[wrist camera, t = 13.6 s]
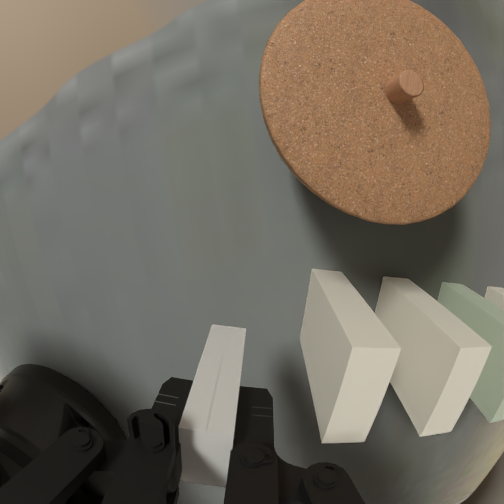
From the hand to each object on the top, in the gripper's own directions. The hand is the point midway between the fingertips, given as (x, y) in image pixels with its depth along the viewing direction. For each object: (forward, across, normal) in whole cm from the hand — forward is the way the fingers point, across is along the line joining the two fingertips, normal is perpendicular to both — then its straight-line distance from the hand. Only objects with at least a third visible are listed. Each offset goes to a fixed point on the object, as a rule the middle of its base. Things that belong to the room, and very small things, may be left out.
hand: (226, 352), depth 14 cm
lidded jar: (+7, +6, +12) cm, 15 cm away
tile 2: (+7, +10, 0) cm, 13 cm away
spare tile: (+7, +16, 0) cm, 17 cm away
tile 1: (+7, +6, 0) cm, 9 cm away
